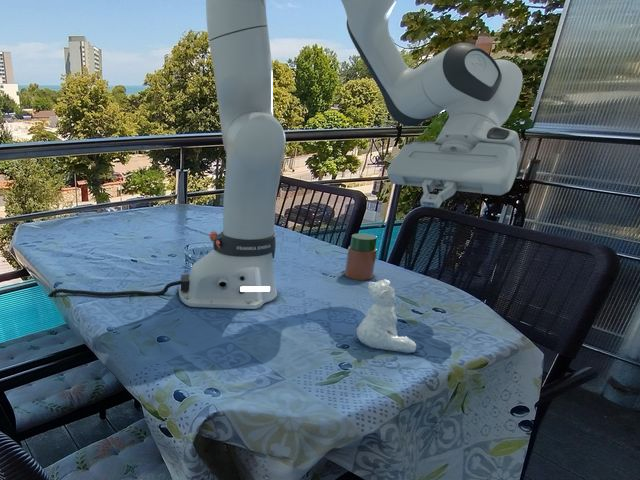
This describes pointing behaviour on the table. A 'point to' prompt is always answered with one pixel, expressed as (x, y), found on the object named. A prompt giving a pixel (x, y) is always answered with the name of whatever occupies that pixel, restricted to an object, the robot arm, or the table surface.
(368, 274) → the brown jar green lid
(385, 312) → the white creature statuette
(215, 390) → the table surface
